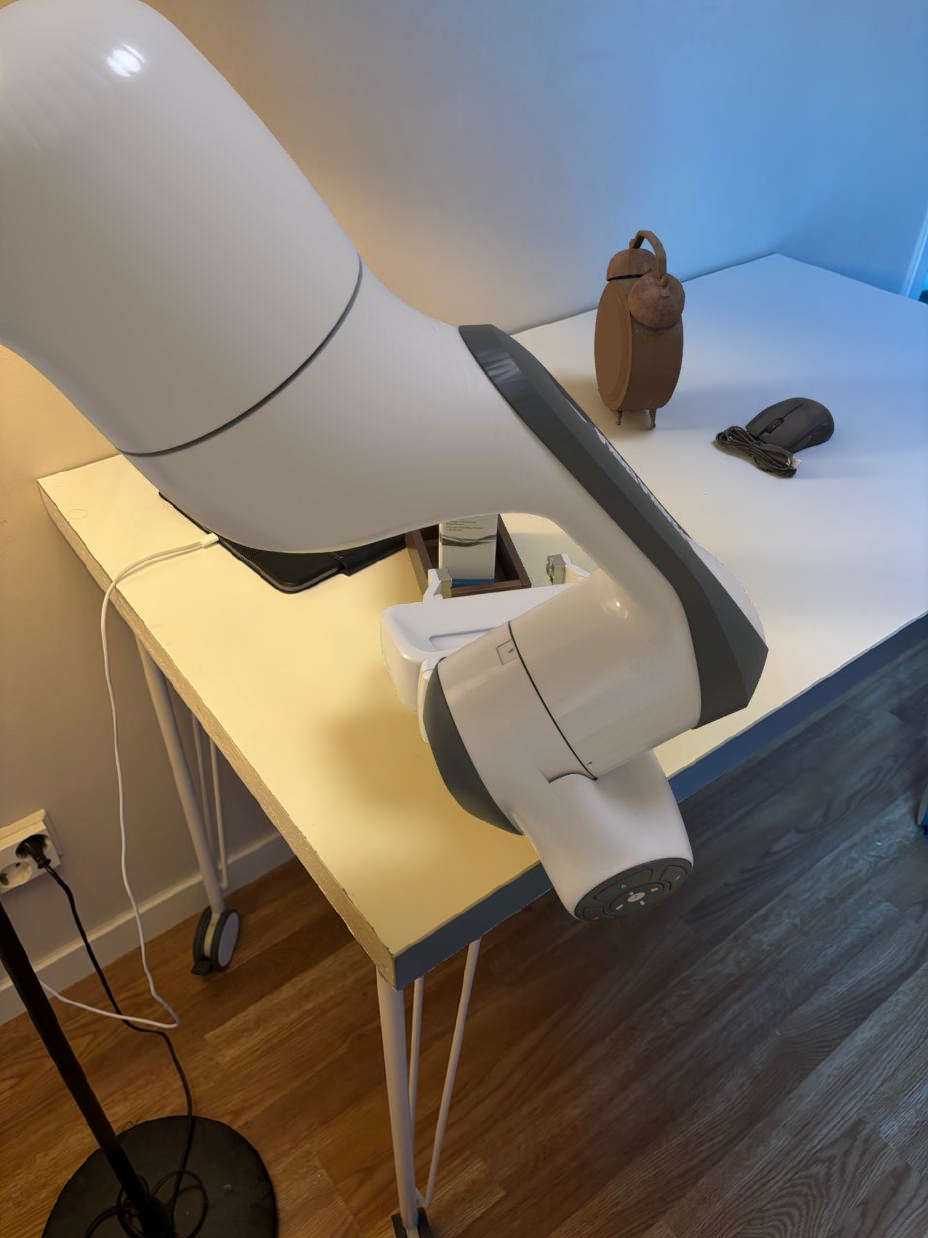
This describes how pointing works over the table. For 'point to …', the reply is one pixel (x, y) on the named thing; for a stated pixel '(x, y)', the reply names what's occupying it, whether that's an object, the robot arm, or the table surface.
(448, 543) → the ink box
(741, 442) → the computer mouse
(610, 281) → the alarm clock
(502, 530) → the wooden tray
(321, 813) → the table surface
